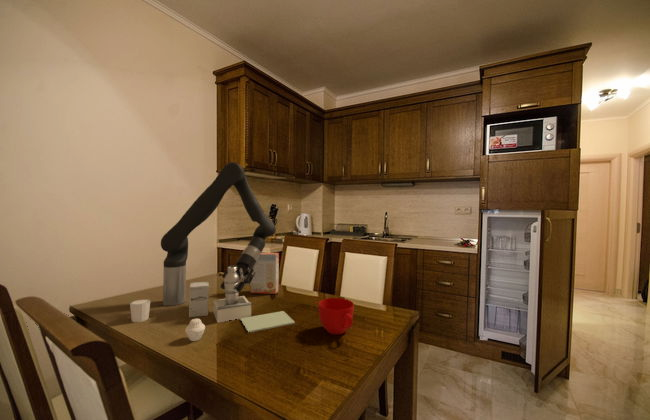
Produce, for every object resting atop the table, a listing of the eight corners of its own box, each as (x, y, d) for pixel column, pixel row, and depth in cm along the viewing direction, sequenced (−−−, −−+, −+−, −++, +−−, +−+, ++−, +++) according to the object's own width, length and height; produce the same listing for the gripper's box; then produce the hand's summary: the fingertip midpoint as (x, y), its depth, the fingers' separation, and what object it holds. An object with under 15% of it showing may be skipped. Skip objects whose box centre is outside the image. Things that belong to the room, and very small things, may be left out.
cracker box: (278, 291, 150) (279, 252, 150) (275, 294, 144) (276, 254, 144) (253, 290, 151) (254, 251, 151) (249, 293, 145) (250, 253, 145)
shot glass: (154, 317, 112) (154, 300, 112) (136, 324, 105) (136, 305, 105) (143, 314, 115) (143, 297, 114) (125, 320, 108) (125, 302, 108)
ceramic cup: (334, 347, 90) (334, 316, 90) (312, 327, 105) (312, 300, 105) (367, 338, 96) (367, 310, 96) (341, 321, 111) (342, 296, 111)
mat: (248, 332, 99) (248, 331, 99) (240, 319, 111) (240, 318, 111) (294, 323, 108) (294, 321, 108) (283, 312, 119) (283, 310, 119)
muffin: (206, 334, 98) (207, 314, 98) (203, 342, 92) (203, 321, 92) (187, 335, 96) (188, 315, 96) (182, 344, 90) (182, 322, 90)
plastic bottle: (243, 312, 118) (243, 265, 118) (233, 318, 112) (233, 269, 112) (230, 310, 120) (231, 264, 120) (219, 316, 114) (220, 267, 114)
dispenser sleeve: (217, 322, 107) (217, 307, 107) (213, 311, 119) (213, 297, 119) (251, 317, 114) (251, 302, 114) (244, 307, 125) (244, 293, 125)
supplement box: (188, 318, 112) (188, 286, 112) (190, 311, 119) (190, 282, 119) (208, 315, 114) (208, 285, 114) (208, 309, 121) (209, 280, 121)
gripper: (232, 251, 126) (212, 282, 116) (257, 254, 120) (238, 287, 109) (241, 261, 131) (222, 292, 121) (265, 264, 124) (247, 296, 114)
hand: (229, 289), depth 115 cm, fingers open, 8 cm apart
